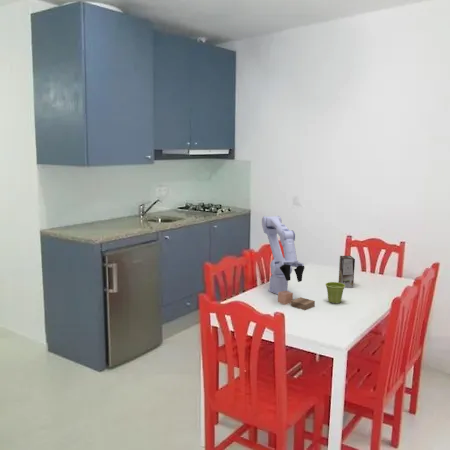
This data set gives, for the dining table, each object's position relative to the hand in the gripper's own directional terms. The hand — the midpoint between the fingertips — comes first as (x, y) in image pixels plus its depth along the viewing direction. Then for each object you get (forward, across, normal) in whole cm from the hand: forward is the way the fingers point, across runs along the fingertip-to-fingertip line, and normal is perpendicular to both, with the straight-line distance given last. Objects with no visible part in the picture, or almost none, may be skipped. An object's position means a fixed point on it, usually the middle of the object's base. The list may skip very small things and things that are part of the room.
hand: (294, 280), depth 221 cm
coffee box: (-2, +48, +8) cm, 48 cm away
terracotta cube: (+8, +1, +9) cm, 12 cm away
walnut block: (+12, +4, +1) cm, 13 cm away
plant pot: (+10, +22, -4) cm, 24 cm away
